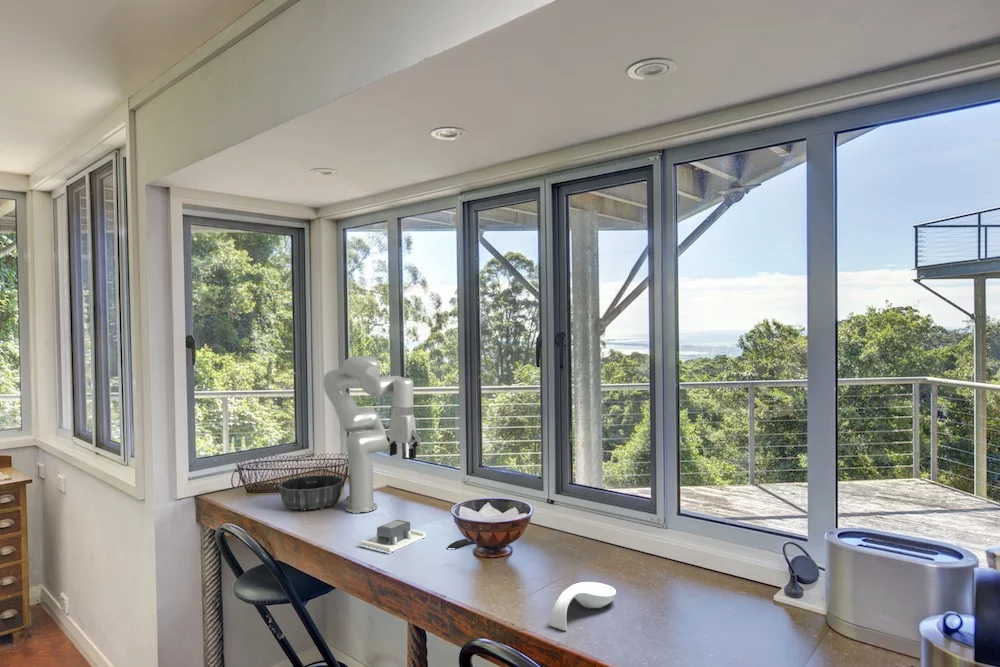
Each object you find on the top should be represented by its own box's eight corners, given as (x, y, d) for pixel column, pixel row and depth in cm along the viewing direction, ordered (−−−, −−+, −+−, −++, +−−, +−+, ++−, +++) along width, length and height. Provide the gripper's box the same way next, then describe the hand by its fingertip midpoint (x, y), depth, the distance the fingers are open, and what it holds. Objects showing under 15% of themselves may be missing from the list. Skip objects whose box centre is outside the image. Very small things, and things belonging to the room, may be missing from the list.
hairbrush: (441, 538, 208) (505, 521, 220) (442, 549, 208) (505, 532, 220) (452, 545, 201) (517, 528, 213) (453, 557, 201) (518, 538, 213)
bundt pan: (279, 500, 267) (279, 477, 267) (342, 494, 275) (342, 472, 275) (276, 517, 242) (276, 492, 242) (346, 510, 250) (345, 486, 250)
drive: (376, 542, 209) (375, 527, 208) (397, 533, 217) (397, 518, 217) (389, 545, 205) (389, 530, 205) (410, 536, 214) (410, 521, 214)
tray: (361, 547, 207) (360, 536, 207) (397, 531, 222) (397, 522, 222) (389, 554, 200) (389, 543, 200) (425, 538, 215) (425, 528, 215)
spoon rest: (584, 590, 171) (584, 564, 171) (623, 601, 164) (623, 574, 164) (537, 624, 152) (537, 595, 152) (579, 637, 145) (579, 607, 145)
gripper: (379, 410, 233) (379, 455, 233) (413, 415, 223) (413, 462, 223) (393, 407, 239) (393, 451, 239) (427, 412, 229) (426, 458, 230)
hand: (402, 456), depth 231 cm, fingers open, 9 cm apart
